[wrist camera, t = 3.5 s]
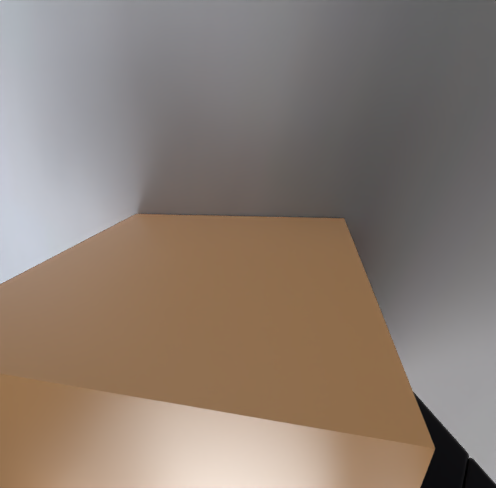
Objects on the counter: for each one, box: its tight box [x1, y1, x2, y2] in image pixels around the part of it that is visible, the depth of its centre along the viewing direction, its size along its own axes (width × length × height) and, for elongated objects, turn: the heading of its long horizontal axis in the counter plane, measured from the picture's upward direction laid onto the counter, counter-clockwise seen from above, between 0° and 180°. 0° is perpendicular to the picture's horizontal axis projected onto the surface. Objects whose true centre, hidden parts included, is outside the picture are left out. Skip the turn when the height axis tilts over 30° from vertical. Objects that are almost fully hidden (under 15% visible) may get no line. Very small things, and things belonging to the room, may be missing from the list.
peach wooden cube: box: [0, 214, 435, 488], centre depth 6 cm, size 6×6×6 cm
